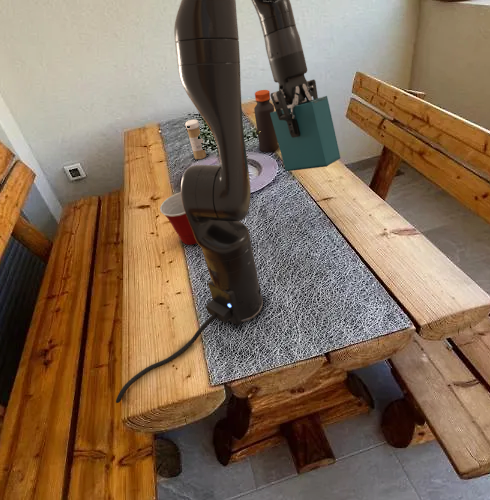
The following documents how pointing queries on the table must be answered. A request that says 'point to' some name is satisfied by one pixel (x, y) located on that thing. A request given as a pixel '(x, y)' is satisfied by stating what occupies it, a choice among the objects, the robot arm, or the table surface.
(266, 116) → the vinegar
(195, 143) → the sprinkles bottle
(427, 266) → the table surface
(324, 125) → the matte teal cuboid
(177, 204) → the plastic cup
